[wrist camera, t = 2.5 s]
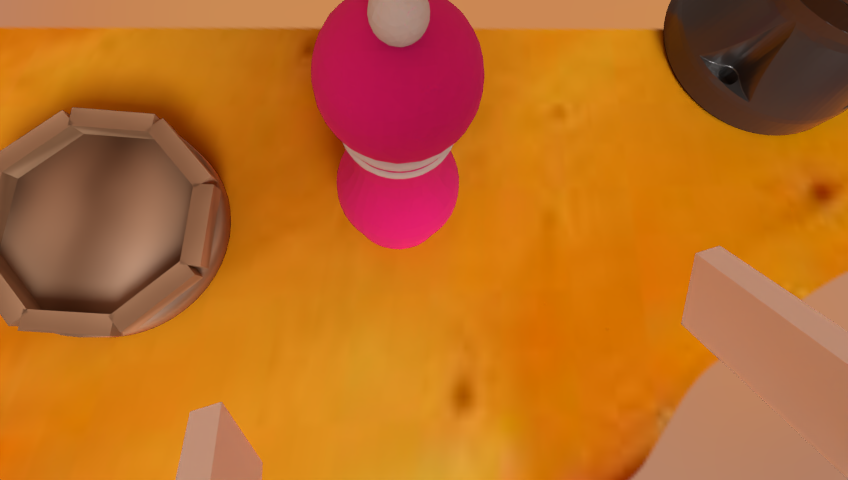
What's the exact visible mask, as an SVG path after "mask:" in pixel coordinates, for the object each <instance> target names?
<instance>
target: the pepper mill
mask: <svg viewBox="0 0 848 480" xmlns="http://www.w3.org/2000/svg"><path fill="white" fill-rule="evenodd" d="M311 80H312V86H313V91H314V95H315V99H316V103H317V107H318V109H319V111H320V113H321V115H322V117H323V119H324V121H325V123H326V124H327V125H328V127H329V128H330V129H331V130H332V132H333V133H334V134H335V135H336V137H337V138H338V139H339V140H341V141H342V142H343V144H344V147H345V149H346V150H345V152H344V154H343V156H342V158H341V161H340V165H339V168H338V172H337V189H338V197H339V201H340V204H341V207H342V209H343V211H344V213H345V215H346V217H347V218H348V220H349V221H350V222H351V223H352V224H353V226H354V227H355V228H356V229H357V230H359V231H360V232H361V233H363V234H364V235H365V236H366V237H367V238H368V239H370V240H371V241H372V242H374V243H376V244H378V245H380V246H382V247H387V248H391V249H404V248H410V247H413V246H416V245H419V244H420V243H422V242H424V241H425V240H427V239H428V238H429V237H430V236H431V235H432V234H434V233H435V232H436V231H438V230H439V229H440V228H441V227H442V226H443V225H444V224H445V223H446V221H447V220H448V218H449V217H450V215H451V214H452V211H453V209H454V207H455V204H456V200H457V196H458V188H459V176H458V169H457V166H456V163H455V159H454V157H453V155H452V153H451V151H450V150H451V148H452V146H453V144H454V143H456V142H457V140H458V139H459V138H460V137H461V136H462V135H463V134H464V133H465V131H466V130H467V128H468V127H469V125H470V123H471V122H472V120H473V119H474V117H475V115H476V113H477V110H478V108H479V104H480V100H481V96H482V92H483V83H484V66H483V56H482V52H481V48H480V43H479V41H478V39H477V37H476V34H475V32H474V30H473V28H472V27H471V25H470V24H469V22H468V20H467V19H466V17H465V16H464V15H463V13H462V12H461V11H460V10H459V9H458V8H457V7H456V6H454V5H453V4H452V3H451V2H449V1H448V0H344V1H343V2H342V3H341V4H339V5H338V6H337V8H335V9H334V10H333V11H332V13H330V15H329V16H328V18H327V20H326V21H325V23H324V25H323V27H322V28H321V30H320V32H319V34H318V37H317V40H316V43H315V47H314V50H313V56H312V64H311Z"/></svg>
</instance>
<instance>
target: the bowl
mask: <svg viewBox="0 0 848 480" xmlns="http://www.w3.org/2000/svg"><path fill="white" fill-rule="evenodd" d="M230 227H231V216H230V206H229V201H228V197H227V194H226V191H225V188H224V185H223V183H222V181H221V179H220V178H219V176H218V174H217V172H216V171H215V170H214V168H213V167H212V166H211V164H210V163H209V162H208V161H207V160H206V159H205V158H204V157H203V156H202V155H201V154H200V153H199V152H198V151H197V150H196V149H195V148H194V147H193V146H191V145H190V144H189V143H188V142H187V141H186V140H184V139H183V138H182V137H180V136H179V134H178V133H177V132H176V131H175V130H174V128H173V127H172V126H171V125H170V124H169V123H168V122H166V121H165V120H164V119H163V118H162V119H160V118H158V117H157V116H156V115H155V114H150V113H137V112H125V111H112V110H100V109H87V108H75V107H72V110H71V114H70V115H69V114H68V113H66V112H65V111H63V110H62V111H60V112H58V113H57V114H55V115H54V116H52V117H51V118H49V119H48V120H46V121H45V122H43V123H42V124H40V125H39V126H37V127H36V128H34V129H33V130H31V131H30V132H28V133H27V134H25V135H24V136H22V137H21V138H19V139H18V140H16V141H15V142H13V143H12V144H10V145H9V146H7V147H6V148H4V149H3V150H1V151H0V315H1V316H2V317H3V319H4V320H5V321H6V323H7V324H8V326H19V327H18V331H32V332H49V333H56V334H60V335H65V336H73V337H119V336H126V335H132V334H136V333H140V332H144V331H147V330H149V329H152V328H154V327H157V326H159V325H161V324H163V323H165V322H167V321H169V320H170V319H172V318H174V317H175V316H177V315H178V314H180V313H181V312H182V311H184V310H185V309H186V308H188V307H189V306H190V305H191V304H192V303H193V302H194V301H195V300H197V299H198V297H199V296H200V295H201V294H202V293H203V292H204V291H205V289H206V288H207V287H208V286H209V284H210V283H211V281H212V280H213V278H214V277H215V275H216V273H217V271H218V269H219V267H220V266H221V264H222V261H223V258H224V256H225V253H226V250H227V246H228V242H229V237H230Z"/></svg>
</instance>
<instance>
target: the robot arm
mask: <svg viewBox="0 0 848 480" xmlns="http://www.w3.org/2000/svg"><path fill="white" fill-rule="evenodd" d="M664 43H665V48H666V53H667V56H668V59H669V62H670V65H671V67H672V69H673V71H674V73H675V75H676V77H677V78H678V80H679V82H680V83H681V85H682V86H683V87H684V89H685V90H686V91H687V93H688V94H689V95H690V96H691V97H692V98H693V99H694V100H695V101H696V102H697V103H698V104H699V105H700V106H701V107H703V108H704V109H705V110H706V111H708V112H709V113H710V114H712V115H713V116H715V117H716V118H718V119H720V120H722V121H723V122H725V123H727V124H729V125H731V126H734V127H736V128H739V129H742V130H745V131H748V132H752V133H757V134H764V135H789V134H795V133H799V132H803V131H806V130H808V129H811V128H813V127H815V126H817V125H819V124H821V123H823V122H825V121H827V120H829V119H831V118H833V117H835V116H837V115H839V114H840V113H842V112H844V111H845V110H847V109H848V0H671V2H670V4H669V6H668V9H667V12H666V17H665V22H664ZM681 324H682V325H683V326H684V327H685V328H686V329H687V330H688V331H689V332H691V333H692V334H693V335H694V336H695V337H696V338H697V339H698V340H699V341H700V342H701V343H702V344H703V345H704V346H706V347H707V348H708V349H709V350H710V351H711V352H712V353H713V354H714V355H715V356H716V357H717V358H718V359H719V360H720V361H722V362H723V363H724V364H725V365H726V366H727V367H728V368H729V369H730V370H731V371H732V372H733V373H734V374H736V375H737V376H738V377H739V378H740V379H741V380H742V381H743V382H744V383H745V384H746V385H747V386H748V387H749V388H750V389H752V390H753V391H754V392H755V393H756V394H757V395H758V396H759V397H760V398H761V399H763V401H764V402H766V404H768V405H769V406H770V407H771V408H772V409H773V410H774V411H775V412H776V413H777V414H778V415H779V416H780V417H782V418H783V419H784V420H785V421H786V422H787V423H788V424H789V425H790V426H791V427H792V428H793V429H794V430H795V431H796V432H798V433H799V434H800V435H801V436H802V437H803V438H804V439H805V440H806V441H807V442H808V443H809V444H810V445H811V446H812V447H814V448H815V449H816V450H817V451H818V452H819V453H820V454H821V455H822V456H823V457H824V458H825V459H826V460H828V461H829V462H830V463H831V464H832V465H833V466H834V467H835V468H836V469H837V470H838V471H839V472H840V473H842V475H843V476H845V477H846V478H847V479H848V331H846V330H845V329H843V328H841V327H840V326H839V325H837V324H836V323H834V322H833V321H831V320H830V319H828V318H827V317H825V316H824V315H822V314H821V313H819V312H818V311H816V310H815V309H813V308H812V307H810V306H809V305H807V304H806V303H804V302H803V301H802V300H800V299H799V298H797V297H796V296H794V295H793V294H791V293H790V292H788V291H787V290H785V289H784V288H782V287H781V286H779V285H778V284H776V283H775V282H773V281H772V280H770V279H769V278H767V277H766V276H764V275H763V274H761V273H760V272H758V271H757V270H755V269H754V268H752V267H751V266H749V265H748V264H746V263H745V262H743V261H742V260H740V259H739V258H737V257H736V256H734V255H733V254H731V253H730V252H729V251H727V250H726V249H724V248H723V247H721V246H717V247H714V248H711V249H708V250H705V251H701V252H698V253H696V254H695V259H694V264H693V269H692V274H691V279H690V283H689V288H688V293H687V298H686V303H685V308H684V313H683V318H682V323H681ZM176 480H262V461H261V460H260V458H259V457H258V455H257V454H256V452H255V451H254V449H253V448H252V446H251V445H250V443H249V442H248V440H247V439H246V437H245V436H244V434H243V433H242V431H241V430H240V428H239V427H238V426H237V424H236V423H235V421H234V420H233V418H232V417H231V415H230V414H229V412H228V411H227V409H226V408H225V406H224V405H223V403H222V402H220V403H216V404H213V405H210V406H207V407H204V408H200V409H197V410H194V411H191V412H190V414H189V419H188V424H187V429H186V433H185V438H184V443H183V447H182V452H181V457H180V462H179V466H178V471H177V476H176Z"/></svg>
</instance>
